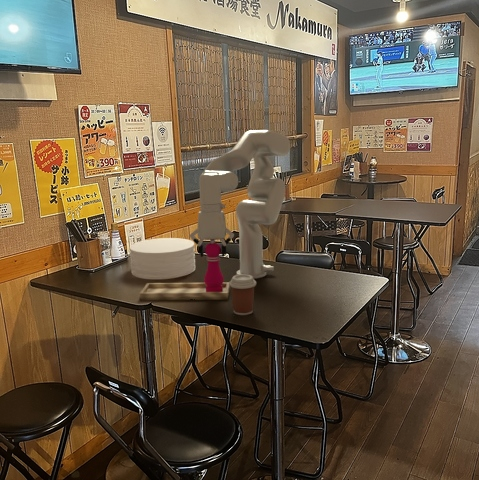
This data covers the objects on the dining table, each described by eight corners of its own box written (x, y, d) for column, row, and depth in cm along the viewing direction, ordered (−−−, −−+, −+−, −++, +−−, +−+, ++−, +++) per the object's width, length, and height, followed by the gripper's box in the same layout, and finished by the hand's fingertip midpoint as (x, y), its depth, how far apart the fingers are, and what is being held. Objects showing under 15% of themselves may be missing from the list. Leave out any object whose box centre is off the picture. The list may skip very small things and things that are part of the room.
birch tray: (229, 288, 184) (229, 282, 184) (227, 299, 173) (227, 292, 172) (147, 289, 186) (147, 283, 185) (139, 300, 174) (139, 293, 174)
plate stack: (125, 266, 219) (123, 242, 216) (183, 258, 230) (182, 235, 228) (139, 283, 194) (137, 256, 191) (204, 273, 205) (203, 247, 203)
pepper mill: (226, 289, 181) (225, 237, 176) (219, 295, 174) (218, 241, 170) (209, 287, 183) (207, 236, 179) (201, 293, 176) (199, 240, 172)
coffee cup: (262, 310, 161) (261, 276, 158) (245, 318, 154) (244, 283, 152) (241, 304, 167) (240, 271, 164) (224, 312, 160) (222, 278, 157)
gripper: (235, 206, 175) (236, 253, 179) (188, 206, 176) (190, 253, 180) (234, 209, 167) (235, 258, 171) (185, 210, 168) (187, 258, 172)
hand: (212, 255), depth 175 cm, fingers open, 7 cm apart
